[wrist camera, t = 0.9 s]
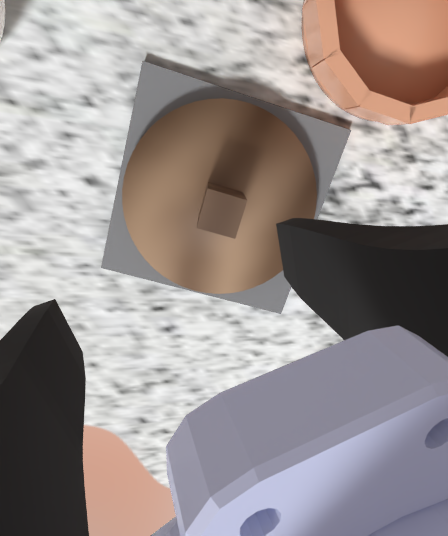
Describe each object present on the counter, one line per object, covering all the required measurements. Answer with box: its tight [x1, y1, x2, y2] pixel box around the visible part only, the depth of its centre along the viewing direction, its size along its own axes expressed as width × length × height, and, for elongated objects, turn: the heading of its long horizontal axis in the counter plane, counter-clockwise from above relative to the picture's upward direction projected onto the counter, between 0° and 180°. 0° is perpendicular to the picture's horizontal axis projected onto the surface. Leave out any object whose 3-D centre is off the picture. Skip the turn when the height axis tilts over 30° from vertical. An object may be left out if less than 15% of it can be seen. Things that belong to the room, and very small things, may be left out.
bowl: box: [302, 0, 448, 125], centre depth 23 cm, size 13×13×4 cm
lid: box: [122, 98, 317, 294], centre depth 26 cm, size 14×14×4 cm
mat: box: [101, 61, 351, 314], centre depth 28 cm, size 15×15×1 cm
